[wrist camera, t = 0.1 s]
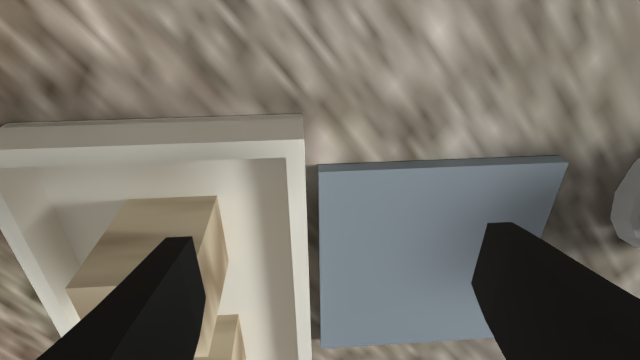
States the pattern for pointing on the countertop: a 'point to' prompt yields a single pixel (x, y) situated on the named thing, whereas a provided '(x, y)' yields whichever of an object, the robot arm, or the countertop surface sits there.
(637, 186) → the french press
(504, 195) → the slate pad
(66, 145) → the parts tray
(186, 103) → the countertop surface
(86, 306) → the labelled block
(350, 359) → the countertop surface
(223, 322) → the plain block
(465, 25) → the countertop surface
